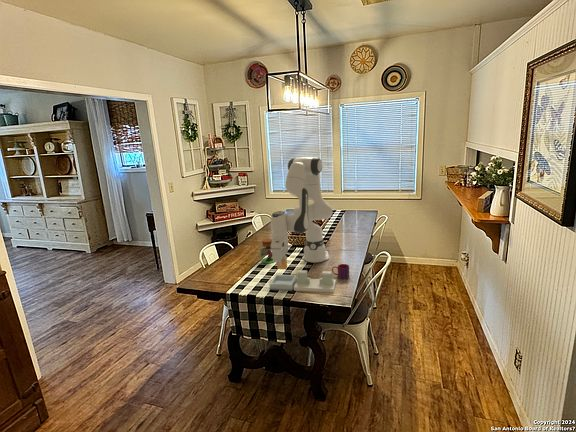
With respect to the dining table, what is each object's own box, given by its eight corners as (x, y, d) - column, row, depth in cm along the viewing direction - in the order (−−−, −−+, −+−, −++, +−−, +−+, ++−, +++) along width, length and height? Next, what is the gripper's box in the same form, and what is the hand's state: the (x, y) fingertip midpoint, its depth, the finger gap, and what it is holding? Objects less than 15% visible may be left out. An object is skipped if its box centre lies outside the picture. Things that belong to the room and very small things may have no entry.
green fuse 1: (299, 281, 186) (298, 270, 184) (307, 281, 184) (307, 270, 183) (298, 283, 183) (297, 272, 181) (306, 284, 181) (306, 272, 180)
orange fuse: (278, 266, 186) (278, 255, 185) (287, 267, 185) (286, 255, 183) (277, 268, 183) (276, 257, 182) (286, 269, 182) (285, 257, 181)
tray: (276, 279, 195) (275, 274, 194) (297, 280, 191) (296, 275, 191) (269, 289, 182) (269, 284, 182) (292, 290, 179) (291, 285, 178)
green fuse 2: (323, 282, 182) (322, 271, 180) (332, 283, 181) (331, 271, 179) (322, 285, 179) (322, 273, 178) (331, 285, 178) (331, 273, 176)
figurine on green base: (280, 257, 231) (278, 237, 228) (274, 264, 219) (272, 243, 216) (264, 256, 234) (262, 237, 231) (258, 263, 223) (256, 242, 219)
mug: (348, 279, 188) (348, 268, 187) (331, 278, 192) (331, 267, 190) (350, 274, 194) (349, 264, 193) (333, 273, 198) (333, 263, 196)
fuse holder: (298, 281, 191) (298, 273, 189) (335, 282, 185) (335, 274, 184) (293, 290, 179) (293, 282, 178) (333, 292, 174) (333, 284, 173)
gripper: (279, 235, 191) (281, 257, 194) (269, 246, 172) (271, 270, 175) (290, 235, 190) (291, 257, 193) (280, 246, 170) (282, 270, 173)
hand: (282, 263), depth 184 cm, fingers closed on orange fuse, 3 cm apart
